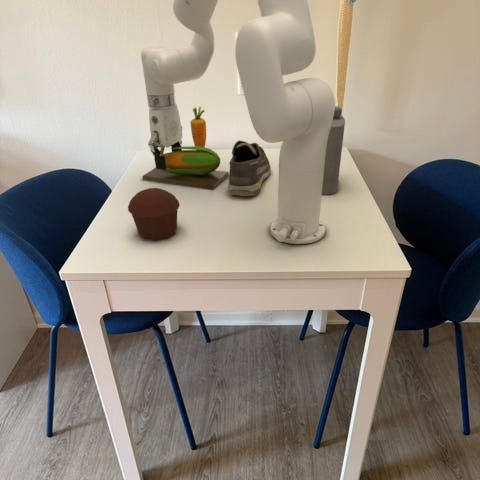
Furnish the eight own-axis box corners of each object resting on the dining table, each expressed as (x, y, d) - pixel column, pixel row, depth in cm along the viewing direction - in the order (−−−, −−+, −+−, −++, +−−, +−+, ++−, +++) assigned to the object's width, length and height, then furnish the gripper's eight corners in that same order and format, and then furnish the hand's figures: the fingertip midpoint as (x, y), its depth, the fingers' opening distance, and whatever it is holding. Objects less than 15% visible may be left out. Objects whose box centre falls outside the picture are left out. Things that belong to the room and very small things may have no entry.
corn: (217, 150, 122) (147, 149, 125) (218, 178, 126) (151, 176, 129) (221, 144, 128) (155, 143, 131) (222, 170, 132) (158, 169, 135)
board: (212, 189, 123) (212, 185, 123) (143, 179, 131) (142, 175, 130) (228, 175, 131) (228, 171, 131) (161, 167, 138) (161, 163, 138)
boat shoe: (271, 162, 139) (272, 126, 133) (267, 200, 117) (267, 159, 110) (237, 162, 140) (236, 126, 134) (226, 199, 118) (224, 159, 111)
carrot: (202, 151, 150) (198, 103, 140) (211, 154, 146) (207, 106, 137) (190, 154, 147) (185, 106, 138) (199, 158, 144) (194, 109, 135)
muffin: (185, 220, 108) (180, 181, 102) (180, 242, 100) (175, 200, 94) (137, 222, 109) (129, 182, 102) (128, 244, 100) (119, 202, 94)
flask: (339, 194, 118) (349, 115, 106) (318, 194, 118) (325, 115, 106) (334, 174, 130) (342, 100, 117) (314, 174, 130) (320, 100, 118)
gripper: (157, 109, 112) (166, 175, 123) (188, 94, 124) (194, 155, 135) (132, 107, 114) (143, 172, 125) (165, 92, 127) (172, 153, 138)
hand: (169, 163), depth 130 cm, fingers open, 9 cm apart
